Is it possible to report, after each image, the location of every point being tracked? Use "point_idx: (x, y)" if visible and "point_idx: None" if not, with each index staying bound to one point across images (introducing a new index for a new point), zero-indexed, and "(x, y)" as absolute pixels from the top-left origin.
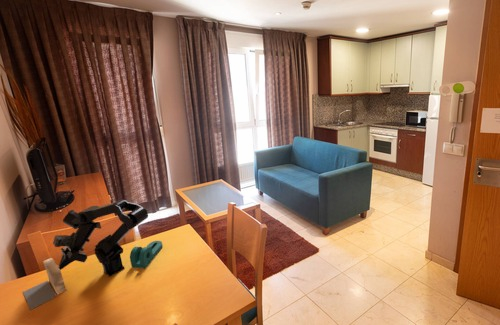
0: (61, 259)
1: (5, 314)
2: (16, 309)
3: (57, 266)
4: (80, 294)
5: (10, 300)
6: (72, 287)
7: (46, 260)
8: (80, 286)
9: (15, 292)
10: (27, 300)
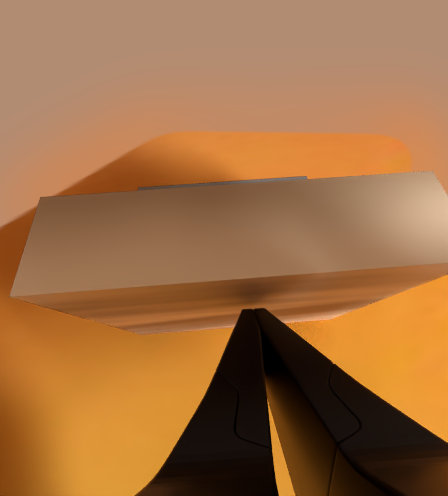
0: (315, 372)
1: (198, 133)
2: (196, 156)
3: (130, 281)
4: (8, 399)
5: (280, 145)
6: (134, 372)
7: (429, 198)
8: (93, 422)
9: (328, 158)
10: (219, 184)
